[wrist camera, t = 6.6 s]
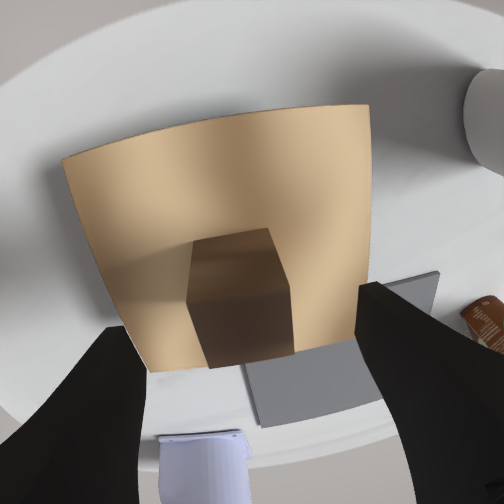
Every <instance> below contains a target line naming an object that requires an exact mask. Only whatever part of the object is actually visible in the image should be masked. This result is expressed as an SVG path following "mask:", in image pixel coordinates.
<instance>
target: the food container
mask: <svg viewBox="0 0 504 504" xmlns="http://www.w3.org/2000/svg"><path fill="white" fill-rule="evenodd" d="M460 316H461V318H462V320H463V322H464V324H465V326H466V328H467V331H468V333H469V335H470V337H471V340H473V341H475V342H477V343H479V344H481V345H483V346H485V347H487V348H489V349H492V350H494V351H496V352H499V353H501V354H503V355H504V303H502V302H501V301H500V300H499V299H498V298H497V297H495V296H491V295H489V296H485V297H482V298H480V299H478V300H476V301H475V302H473V303H472V304H471V305H469V306H468V307H467V308H465V309H464V310H463V311H462V312H461V313H460Z"/></svg>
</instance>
